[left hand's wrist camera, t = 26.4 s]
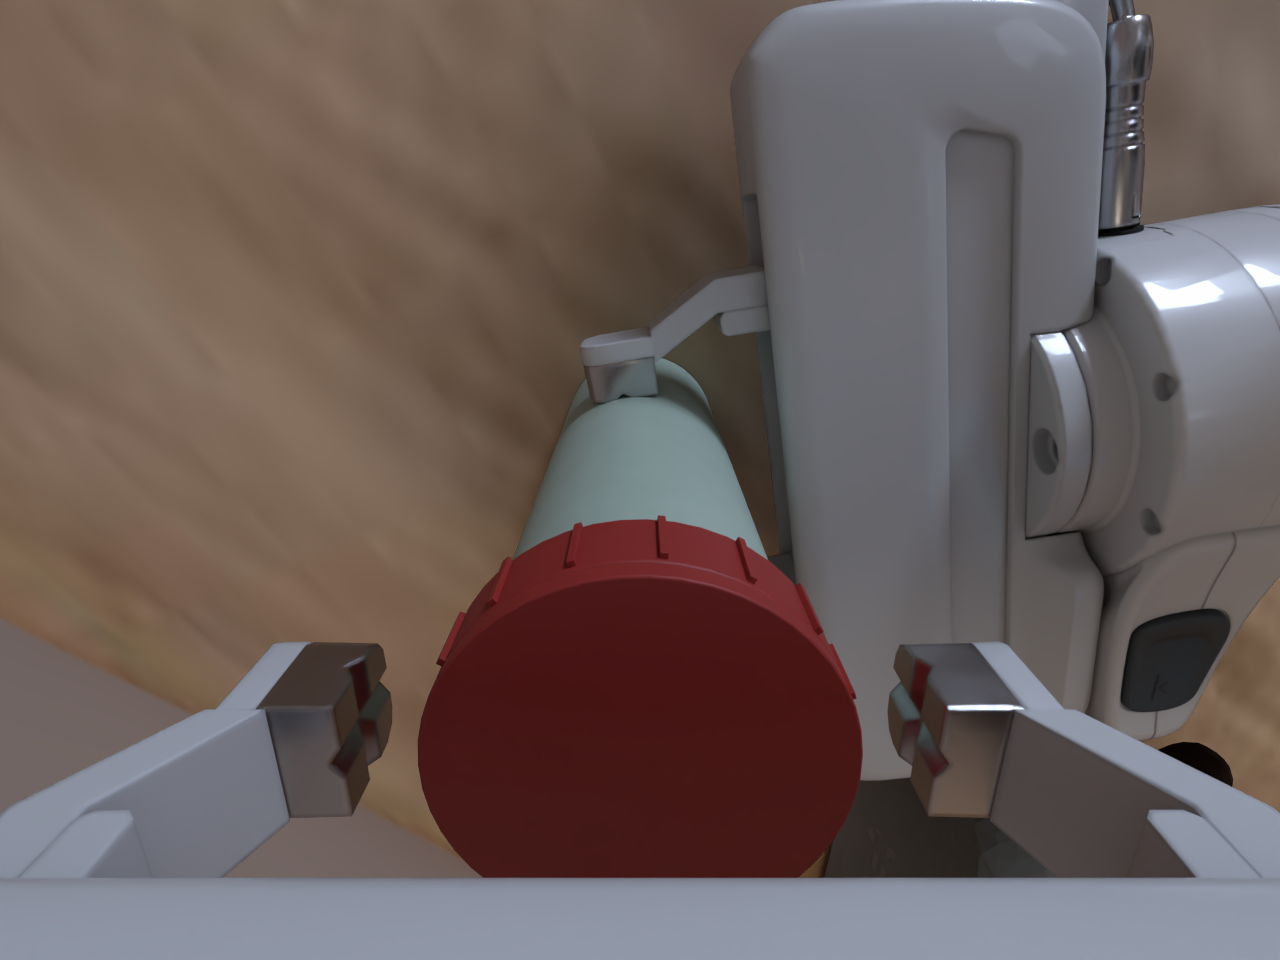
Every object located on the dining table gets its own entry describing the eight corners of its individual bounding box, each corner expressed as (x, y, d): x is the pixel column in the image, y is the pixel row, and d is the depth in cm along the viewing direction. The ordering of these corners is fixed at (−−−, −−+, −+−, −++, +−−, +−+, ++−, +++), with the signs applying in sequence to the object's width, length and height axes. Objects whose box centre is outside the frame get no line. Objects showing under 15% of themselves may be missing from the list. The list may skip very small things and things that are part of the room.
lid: (570, 881, 12) (559, 981, 10) (371, 621, 10) (320, 697, 8) (888, 753, 11) (930, 843, 9) (730, 443, 9) (749, 489, 7)
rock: (1017, 996, 34) (1124, 1213, 26) (790, 977, 33) (833, 1192, 26) (1157, 681, 27) (1349, 850, 20) (879, 653, 27) (970, 815, 20)
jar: (667, 514, 25) (703, 902, 11) (544, 453, 24) (408, 783, 10) (737, 397, 23) (889, 666, 9) (609, 327, 23) (558, 504, 8)
